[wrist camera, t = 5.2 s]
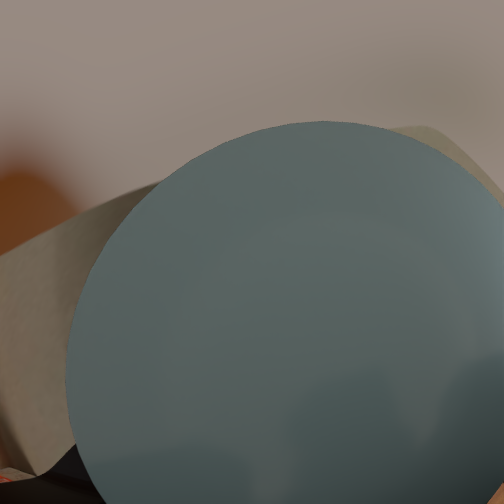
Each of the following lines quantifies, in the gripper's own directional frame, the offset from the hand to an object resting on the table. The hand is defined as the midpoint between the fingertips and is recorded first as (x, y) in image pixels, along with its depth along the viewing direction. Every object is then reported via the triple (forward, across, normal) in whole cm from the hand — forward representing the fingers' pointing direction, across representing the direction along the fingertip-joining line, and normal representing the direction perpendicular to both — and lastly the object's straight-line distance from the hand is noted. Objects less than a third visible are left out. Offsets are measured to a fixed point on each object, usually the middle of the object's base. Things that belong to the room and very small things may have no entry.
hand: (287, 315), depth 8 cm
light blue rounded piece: (+4, 0, +6) cm, 7 cm away
